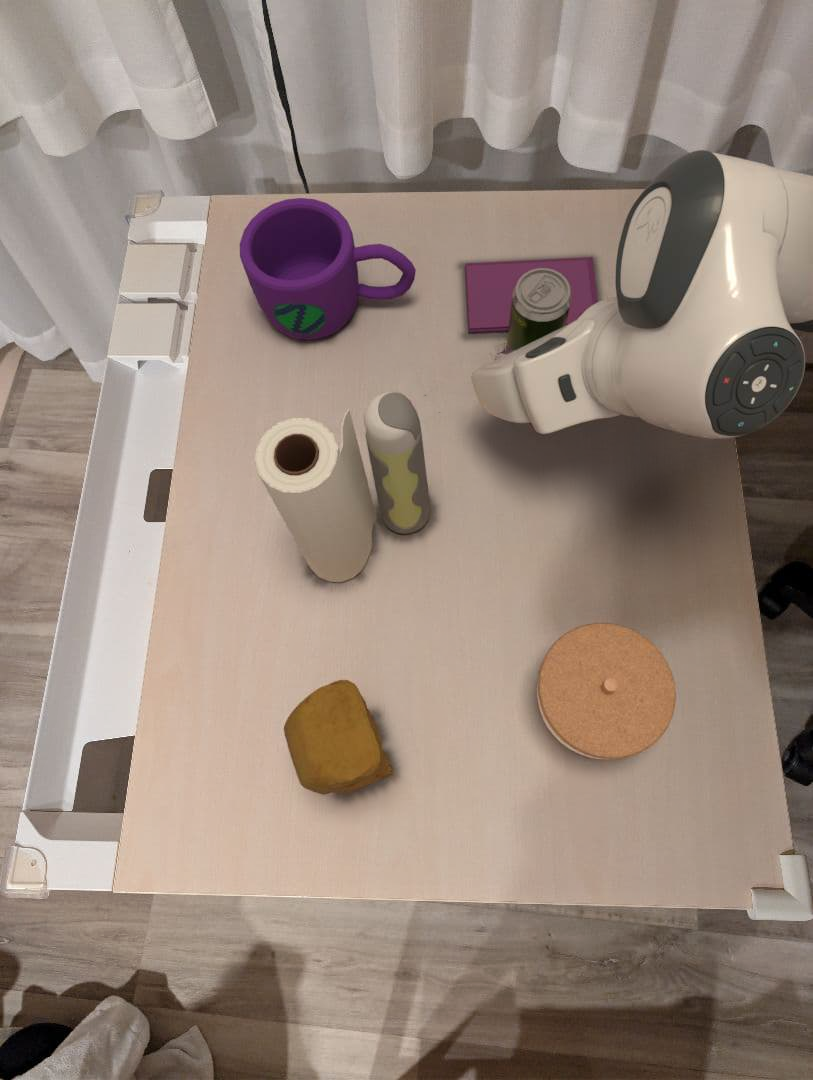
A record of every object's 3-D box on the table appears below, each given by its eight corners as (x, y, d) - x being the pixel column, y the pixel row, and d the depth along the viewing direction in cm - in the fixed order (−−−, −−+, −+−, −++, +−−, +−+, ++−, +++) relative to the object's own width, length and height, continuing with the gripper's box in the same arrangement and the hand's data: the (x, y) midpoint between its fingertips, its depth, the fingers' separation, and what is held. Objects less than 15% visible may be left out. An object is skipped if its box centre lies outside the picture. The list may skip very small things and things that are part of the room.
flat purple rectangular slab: (592, 259, 85) (593, 254, 84) (600, 327, 82) (601, 323, 81) (465, 265, 86) (465, 261, 85) (468, 333, 83) (468, 329, 82)
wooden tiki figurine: (401, 781, 67) (386, 767, 53) (329, 809, 66) (296, 803, 52) (374, 704, 69) (353, 673, 55) (305, 731, 69) (266, 706, 55)
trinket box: (618, 790, 65) (643, 784, 57) (507, 723, 68) (515, 707, 59) (673, 682, 68) (705, 661, 60) (565, 622, 71) (581, 592, 62)
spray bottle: (379, 493, 77) (354, 384, 58) (427, 487, 76) (418, 376, 58) (383, 538, 75) (359, 441, 56) (433, 532, 75) (425, 433, 56)
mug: (255, 348, 83) (230, 287, 74) (267, 263, 87) (244, 195, 78) (415, 349, 82) (411, 287, 73) (420, 263, 86) (416, 194, 77)
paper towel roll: (310, 588, 73) (257, 498, 53) (304, 530, 76) (250, 422, 56) (385, 576, 73) (359, 481, 53) (376, 518, 76) (348, 406, 56)
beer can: (532, 396, 79) (545, 325, 68) (493, 365, 81) (500, 291, 70) (567, 364, 80) (585, 288, 69) (528, 334, 82) (540, 256, 71)
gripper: (722, 263, 62) (629, 262, 74) (501, 372, 60) (442, 353, 72) (737, 337, 65) (644, 324, 77) (526, 444, 62) (465, 413, 75)
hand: (545, 338), depth 74 cm, fingers open, 8 cm apart
